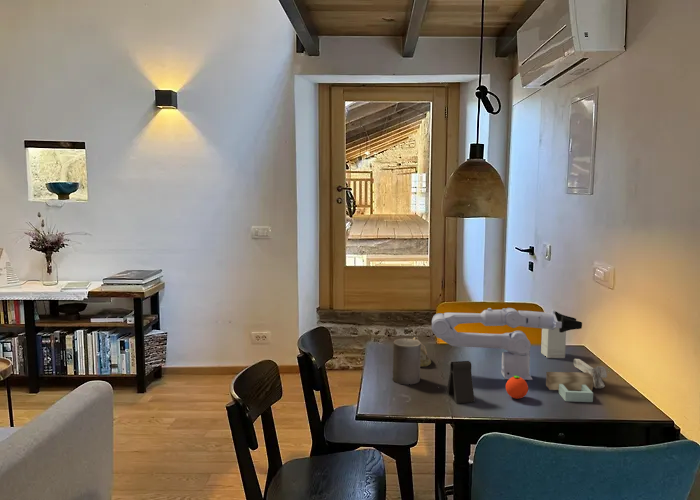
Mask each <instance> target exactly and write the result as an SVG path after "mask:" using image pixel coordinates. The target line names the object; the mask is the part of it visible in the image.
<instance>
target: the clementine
mask: <svg viewBox="0 0 700 500" xmlns="http://www.w3.org/2000/svg"><path fill="white" fill-rule="evenodd" d="M505 390H506V393H507V394H508V395H509V397H511V398H513V399H515V400H516V399H517V400H518V399H523V398H524V397H525V396H527V394H528V391H529V385H528V382H527V380H524V379H523V378H521V377H519V376H513V377H512V378H510V379H507V382H506V383H505Z"/></svg>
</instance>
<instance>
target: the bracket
mask: <svg viewBox="0 0 700 500" xmlns="http://www.w3.org/2000/svg"><path fill="white" fill-rule="evenodd" d="M558 394H559V395H560V396H561V398H562V399H563V400H564V402H576V403H577V402H578V403H593V401H594V392H593V390H592V391H591V390H590V389H589V388H588V387H587V386H586V385H582V388H581V390H567V388H566V387H565V386H564V385H563V384H559V390H558Z"/></svg>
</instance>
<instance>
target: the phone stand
mask: <svg viewBox="0 0 700 500" xmlns="http://www.w3.org/2000/svg"><path fill="white" fill-rule="evenodd" d="M449 365H450V368H449V370H450V371H449V375H448V381H447V388H446V395H447V396H448V397H449V398H450V399H451V400H452V401H453V402H454V403H455V404H457V405H458V404H470V403H475V401H476V400H475V393H474V383H473V377H472V363H471V361H470V360H460V361H451V362H450V364H449Z"/></svg>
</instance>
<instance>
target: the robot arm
mask: <svg viewBox="0 0 700 500" xmlns="http://www.w3.org/2000/svg"><path fill="white" fill-rule="evenodd" d="M477 323H481V324H482V325H483V326H485V327H491V326H492V327H497V326H500V327H503V326H507V327H510V328H512V329H515V328H517V327H523V328H534V329H542V328H543V329H551V330H554V329H555V328H559V332H565V331H566V332H567V331H571V330H572V331H573V330H574V331H575V330H581V329H582V328H583V322H581V321H578V320H577V318H576V317H572V316H568V315H564V314H562V313H560V312H558V311H555V309H551V312H544V311H535V310H534V311H532V310H516V309H515V308H514V307H513V308H512V307H507V308H505V307H504V308H502V309H492V308H491V307H488V308H487V309H484V310H482V311H481V312H480V313H478V312H477V313H476V312H444V313H441V312H439V313H435V314H434V315H433V317H432V319H431V331H432V333H433V334H434V336H435V337H436V338H437V339H440V340H442V341H443V342H445V343H446V344H448V345H450V346H452V347H463V348H482V349H483V348H487V349H500V350H501V349H502V350H505V351H502V353H501V354H502V355H501V371H500V372H501V375H502V376H503V378H504V379H505V380H509V379H510V378H512V377H513V376H519V377H521V378H523V379H524V380H525V381H533V378H532V376H531V374H530V361H531V359H530V357H531V351H530V350H531V348H532V344H531V341H530V340H529V339H528V337H527V335H526V333H525V332H523V331H522V330H514V331H512V332H504V333H487V332H485V333H482V332H481V333H479V332H464V331H463V332H462V331H459V332H458V331H457V330H456V329H455V327H456V326H458V325H460V324H477Z"/></svg>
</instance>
